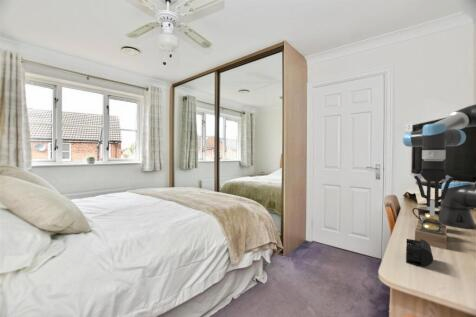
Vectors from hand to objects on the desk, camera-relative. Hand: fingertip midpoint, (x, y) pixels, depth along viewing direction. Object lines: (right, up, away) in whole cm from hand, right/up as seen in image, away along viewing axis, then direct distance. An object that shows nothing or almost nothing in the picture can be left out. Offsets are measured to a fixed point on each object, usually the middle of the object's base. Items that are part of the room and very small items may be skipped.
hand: (432, 214), depth 96 cm
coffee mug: (+15, -12, +21) cm, 28 cm away
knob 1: (+7, -4, +8) cm, 12 cm away
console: (+3, -12, +4) cm, 13 cm away
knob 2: (-1, -7, 0) cm, 7 cm away
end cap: (-19, -13, -17) cm, 28 cm away
